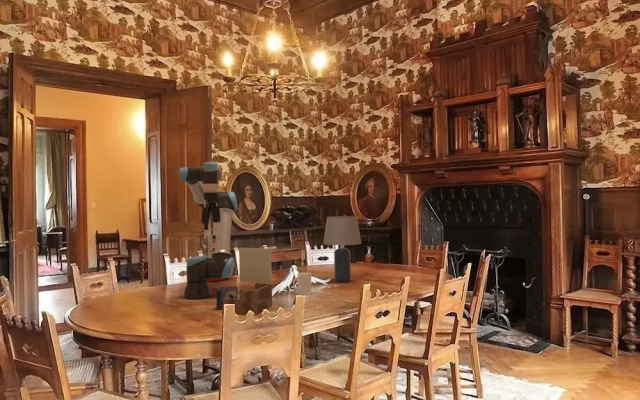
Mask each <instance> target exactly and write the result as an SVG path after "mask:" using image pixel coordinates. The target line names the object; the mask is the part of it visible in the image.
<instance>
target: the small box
mask: <svg viewBox="0 0 640 400" xmlns="http://www.w3.org/2000/svg"><path fill="white" fill-rule="evenodd" d="M238 294H239V291H238V287H237V285H236V286H233V285H232V286H217V287H216V297H215V298H216V309H217V310H223V309H222V308H223V298H237V299H239V298H238V297H239V295H238Z"/></svg>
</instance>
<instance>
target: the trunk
mask: <svg viewBox="0 0 640 400" xmlns="http://www.w3.org/2000/svg"><path fill="white" fill-rule="evenodd" d="M238 294H239V295H238V297H239V298H238V299H237V298H223V305H224V304H235V312H236V313H235V314H244V315H247V314H246V313H247V312H248V311H249V310H251V311H253V312H254V313H255V314H256V315H259V314H260V313H262V312H263V311H262V310H263V309H266V310H267V309H269V308H271V307H272V306H273V283H254V289H253V290H252V289H239V291H238ZM255 314H254V315H255ZM256 315H255V316H256Z"/></svg>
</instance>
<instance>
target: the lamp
mask: <svg viewBox="0 0 640 400" xmlns="http://www.w3.org/2000/svg"><path fill="white" fill-rule="evenodd" d="M358 221H359V219H358V216H349V215H348V216H347V215H346V216H345V215H341V216H337V215H336V216H327V217H326V223H325V230H324V237H323V245H327V246H340V247H339V248H336V249H335V250H334V253H333V254H334V255H333V259H334V263H333V265H334V267H333V269H334V280H335V281H336V282H337V283H348V282H350V281H351V275H352V274H351V273H352V271H351V270H352V269H351V268H352V266H351V265H352V263H351V254H352V253H351V251H350V249H349V248H346V247H345V246H356V245H361V244H362V240H361V233H360V228H359V222H358Z"/></svg>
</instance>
